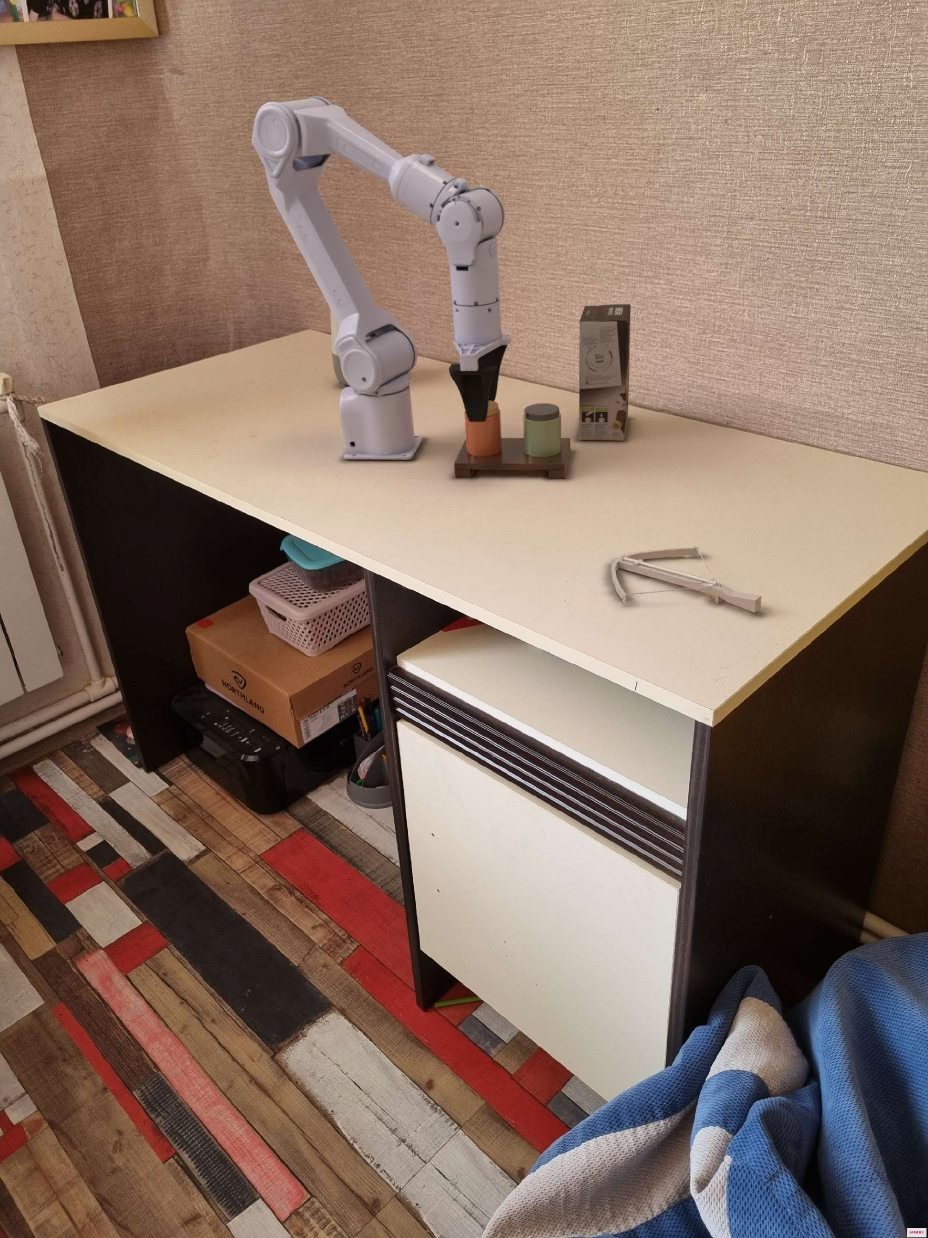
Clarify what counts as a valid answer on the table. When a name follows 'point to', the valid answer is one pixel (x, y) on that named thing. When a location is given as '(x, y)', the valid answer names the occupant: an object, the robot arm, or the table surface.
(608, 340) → the coffee box
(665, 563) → the table surface
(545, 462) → the stand
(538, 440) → the sage pot
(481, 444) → the spice jar
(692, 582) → the crossbow
